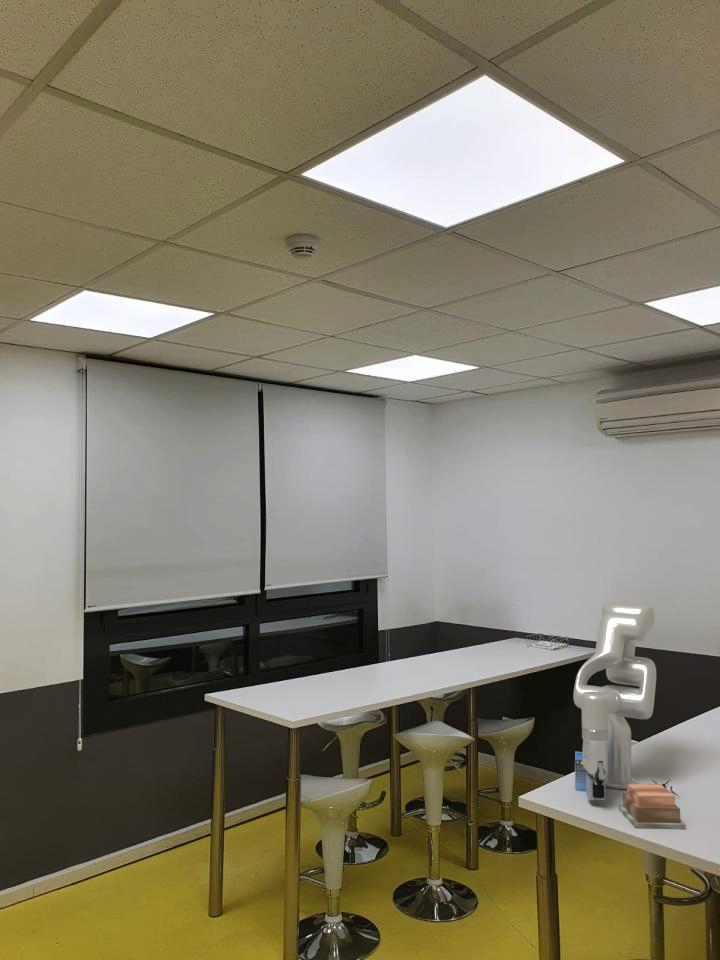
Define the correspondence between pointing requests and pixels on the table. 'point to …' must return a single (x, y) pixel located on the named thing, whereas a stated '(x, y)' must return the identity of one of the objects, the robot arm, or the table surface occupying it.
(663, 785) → the creature
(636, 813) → the stepped plate stack
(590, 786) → the slate brick
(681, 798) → the table surface
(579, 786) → the label tape box
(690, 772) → the table surface
